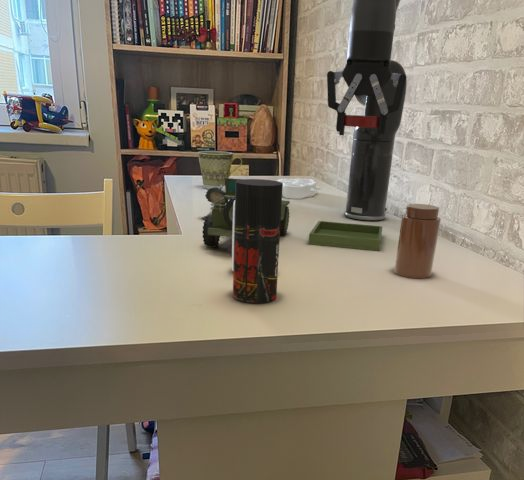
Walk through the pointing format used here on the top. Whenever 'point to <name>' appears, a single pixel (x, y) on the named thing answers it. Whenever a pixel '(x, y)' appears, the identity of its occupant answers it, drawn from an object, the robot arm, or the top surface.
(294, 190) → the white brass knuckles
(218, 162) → the ceramic cup
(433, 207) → the jar
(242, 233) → the deodorant
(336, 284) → the top surface
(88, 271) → the top surface
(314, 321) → the top surface
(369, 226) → the tray
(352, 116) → the jar lid
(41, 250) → the top surface
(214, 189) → the eagle figurine
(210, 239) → the toy jeep
